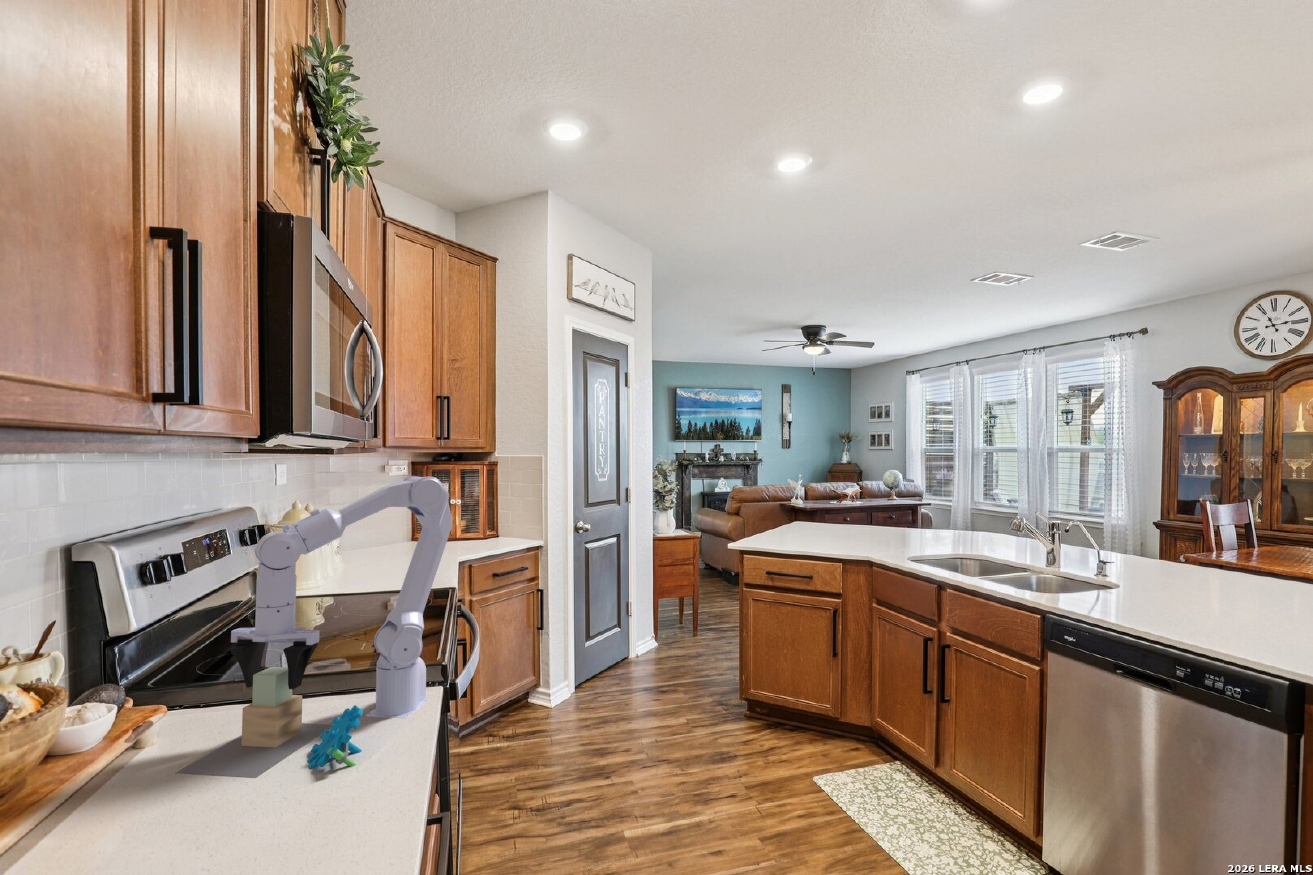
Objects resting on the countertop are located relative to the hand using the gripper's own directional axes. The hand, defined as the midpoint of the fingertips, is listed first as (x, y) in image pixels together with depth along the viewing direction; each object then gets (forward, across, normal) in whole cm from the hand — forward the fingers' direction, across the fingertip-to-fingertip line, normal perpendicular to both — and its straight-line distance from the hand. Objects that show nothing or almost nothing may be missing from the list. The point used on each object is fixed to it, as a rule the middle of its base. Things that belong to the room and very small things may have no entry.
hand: (273, 686), depth 101 cm
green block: (+2, 0, 0) cm, 3 cm away
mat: (+9, 0, -3) cm, 10 cm away
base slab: (+8, 0, 0) cm, 8 cm away
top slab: (+6, 0, 0) cm, 6 cm away
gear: (+9, +15, -5) cm, 18 cm away
